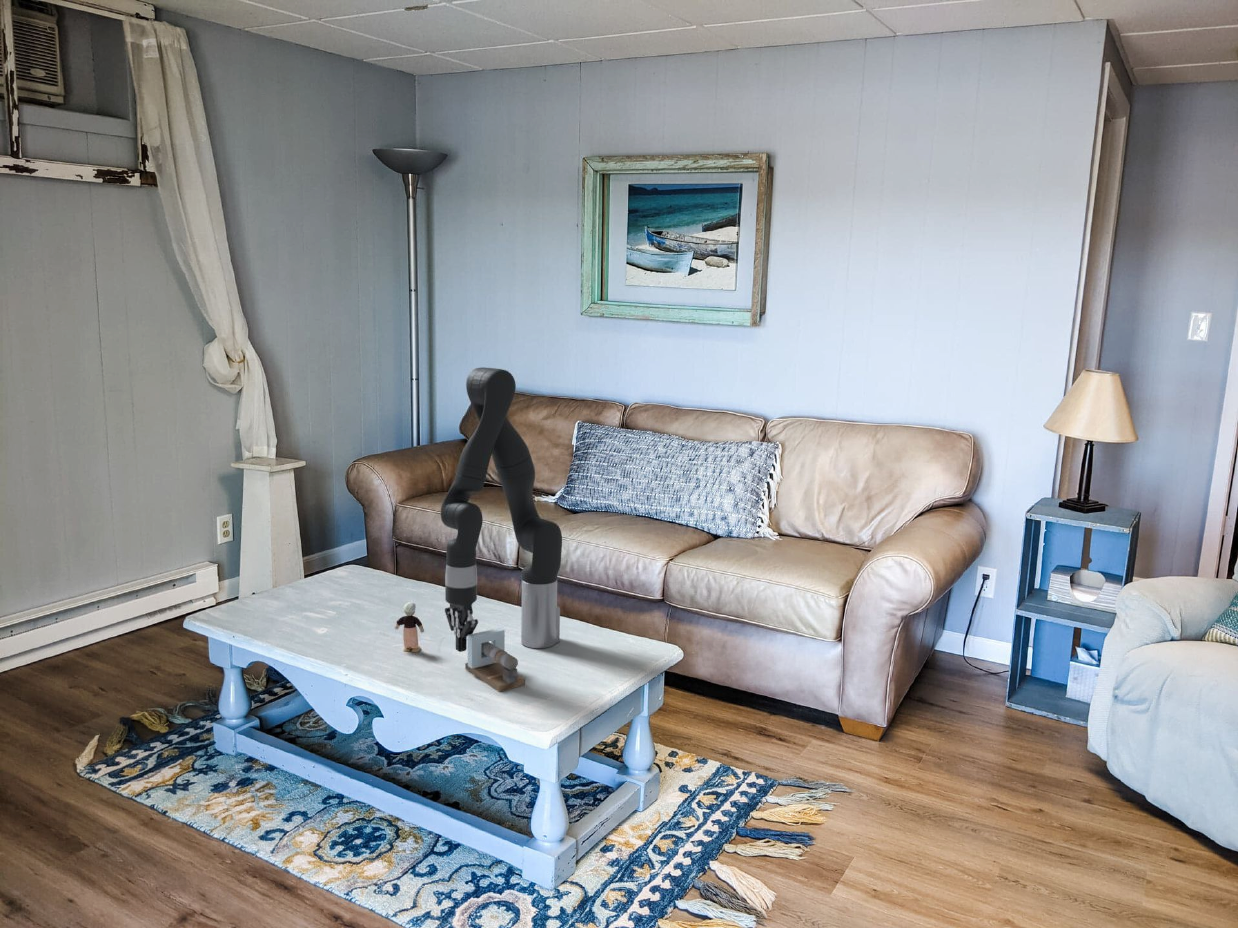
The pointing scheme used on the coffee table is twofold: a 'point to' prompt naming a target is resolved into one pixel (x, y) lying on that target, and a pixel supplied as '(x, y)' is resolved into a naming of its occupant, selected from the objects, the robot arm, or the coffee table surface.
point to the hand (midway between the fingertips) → (461, 650)
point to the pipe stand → (498, 669)
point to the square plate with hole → (475, 646)
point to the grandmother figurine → (410, 628)
